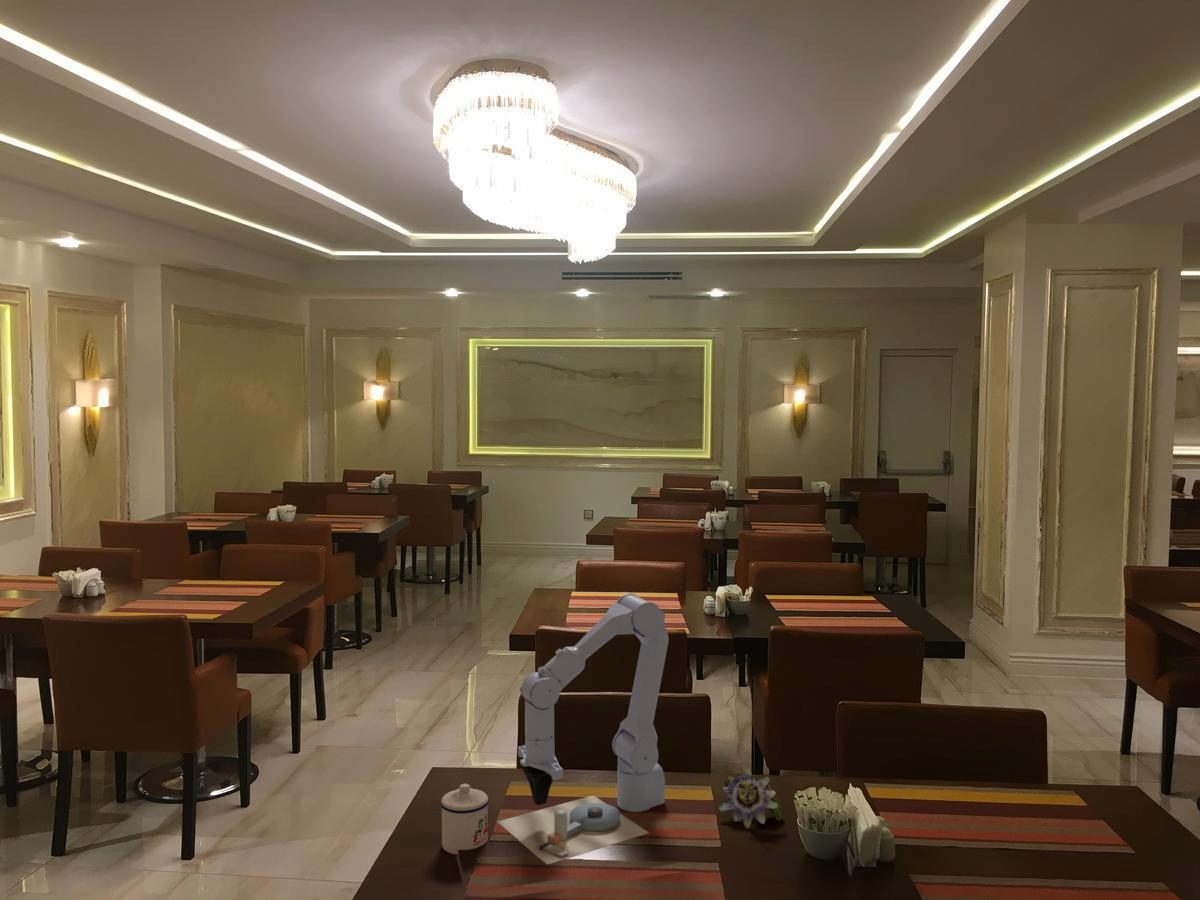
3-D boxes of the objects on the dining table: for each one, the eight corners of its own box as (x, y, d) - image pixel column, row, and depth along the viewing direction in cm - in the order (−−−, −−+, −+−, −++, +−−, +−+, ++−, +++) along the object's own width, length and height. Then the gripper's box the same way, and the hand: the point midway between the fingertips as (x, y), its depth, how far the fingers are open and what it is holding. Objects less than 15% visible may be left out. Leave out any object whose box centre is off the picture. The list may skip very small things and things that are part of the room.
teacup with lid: (482, 858, 176) (482, 796, 175) (434, 855, 177) (434, 794, 176) (497, 828, 188) (497, 770, 187) (452, 825, 189) (451, 768, 188)
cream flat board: (593, 800, 200) (593, 792, 200) (649, 838, 184) (649, 829, 184) (497, 827, 188) (496, 818, 188) (547, 870, 171) (547, 861, 171)
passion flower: (746, 854, 189) (713, 811, 186) (739, 819, 199) (707, 778, 197) (795, 826, 187) (762, 782, 185) (784, 792, 198) (753, 750, 195)
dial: (592, 804, 196) (592, 780, 195) (630, 818, 189) (630, 794, 189) (531, 835, 182) (531, 809, 182) (570, 851, 176) (570, 825, 176)
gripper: (504, 728, 190) (505, 794, 191) (539, 751, 178) (540, 822, 179) (535, 721, 194) (536, 786, 195) (572, 743, 182) (572, 812, 183)
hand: (540, 802), depth 187 cm, fingers closed
